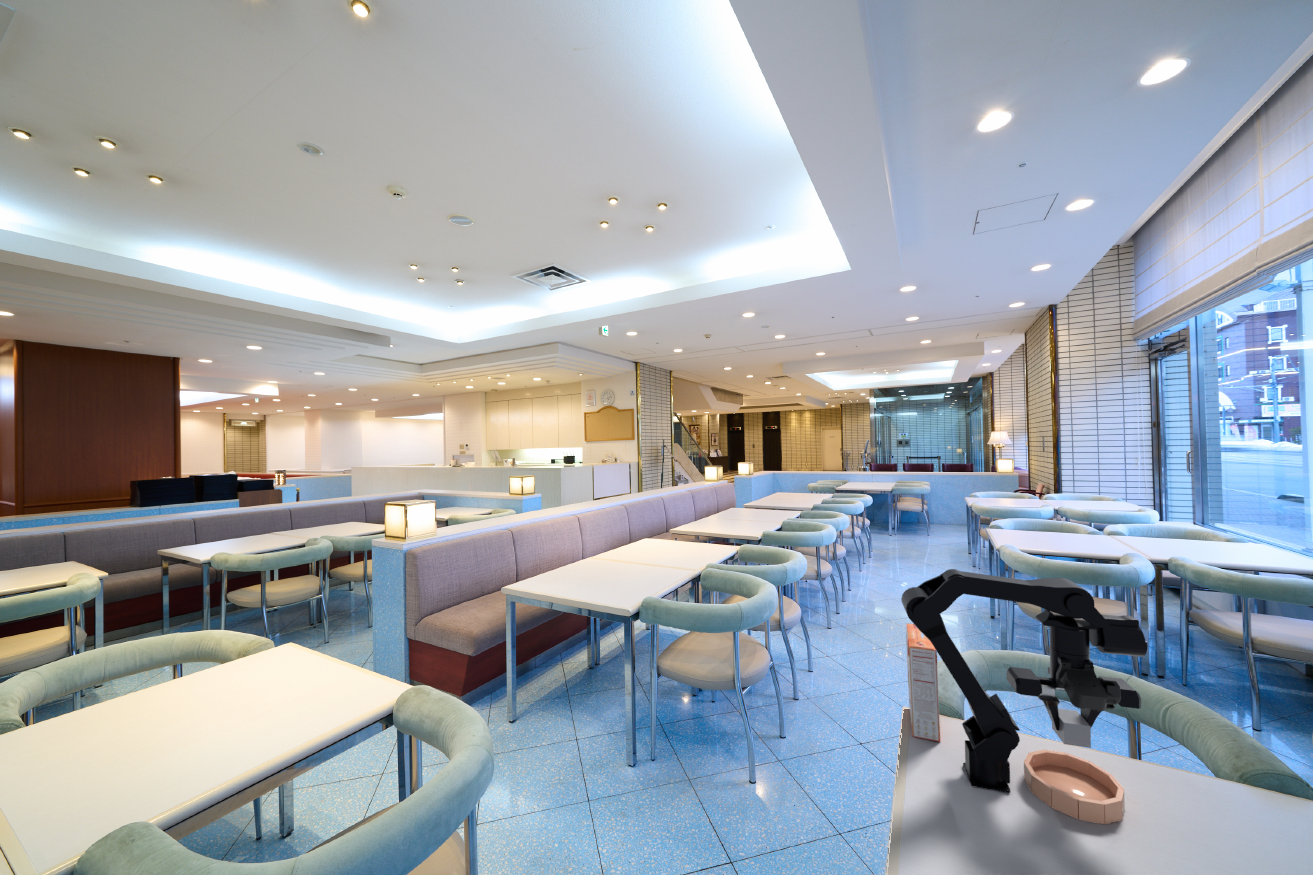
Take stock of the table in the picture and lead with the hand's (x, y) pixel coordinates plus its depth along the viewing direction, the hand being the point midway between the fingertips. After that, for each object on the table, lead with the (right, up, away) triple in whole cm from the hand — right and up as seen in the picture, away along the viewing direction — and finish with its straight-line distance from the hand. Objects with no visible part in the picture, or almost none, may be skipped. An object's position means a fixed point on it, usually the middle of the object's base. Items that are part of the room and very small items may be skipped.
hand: (1070, 731), depth 92 cm
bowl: (+1, -12, 0) cm, 12 cm away
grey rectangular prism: (0, -1, 0) cm, 1 cm away
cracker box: (-15, -12, +23) cm, 30 cm away
